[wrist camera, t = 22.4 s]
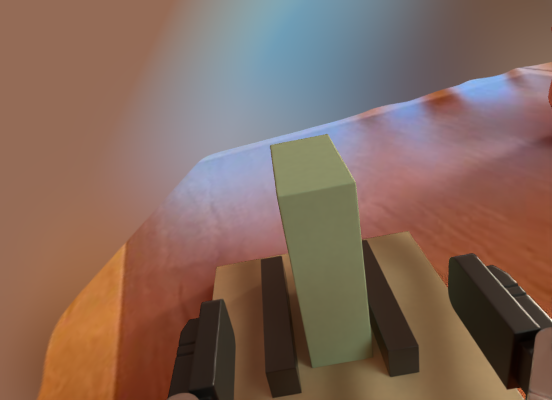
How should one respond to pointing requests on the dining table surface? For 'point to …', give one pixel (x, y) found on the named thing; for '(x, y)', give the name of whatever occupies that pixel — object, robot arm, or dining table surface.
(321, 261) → the green rectangular block
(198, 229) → the dining table surface
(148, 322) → the dining table surface
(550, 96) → the teapot
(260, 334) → the seat base
